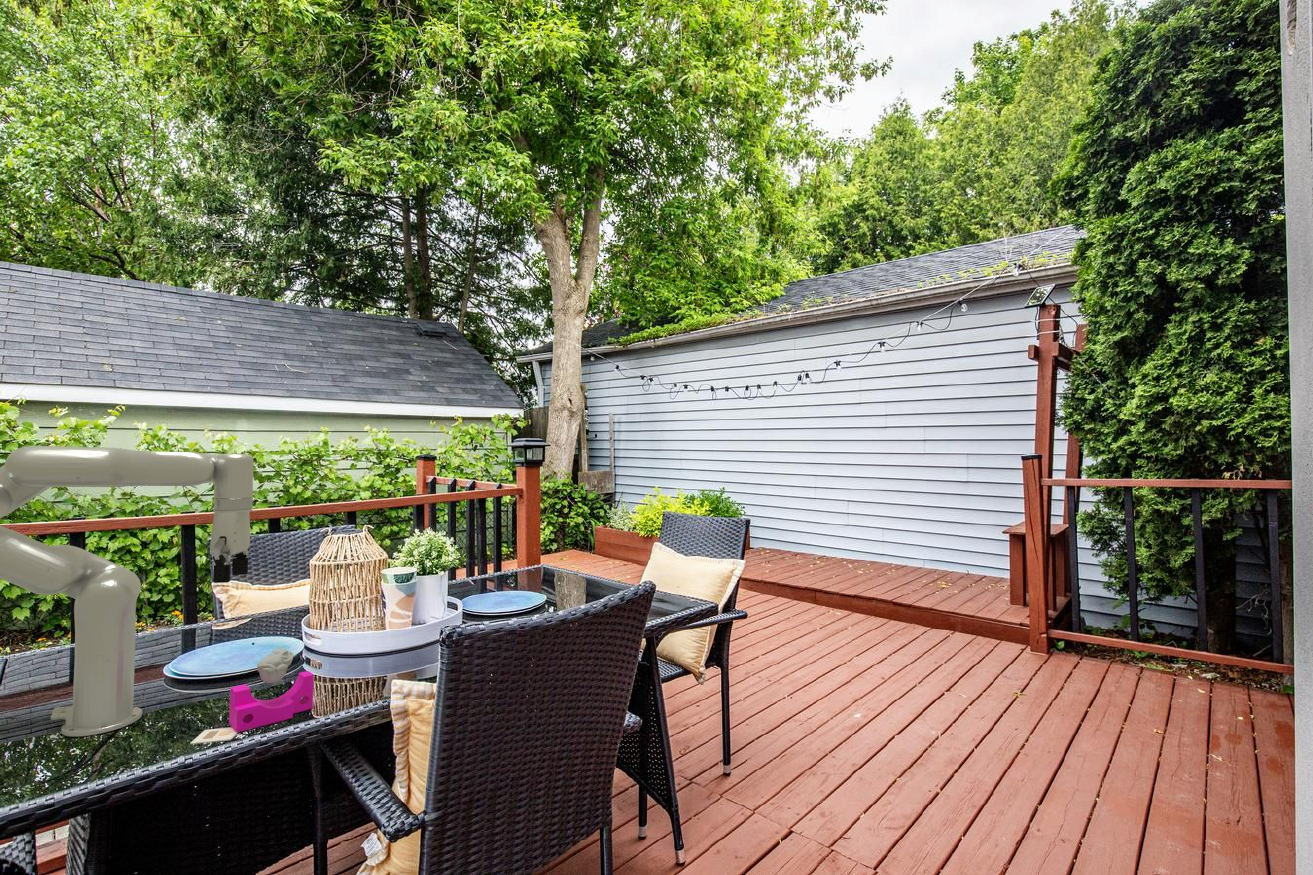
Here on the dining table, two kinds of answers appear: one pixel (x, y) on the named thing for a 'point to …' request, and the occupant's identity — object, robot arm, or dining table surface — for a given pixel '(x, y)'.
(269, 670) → the frog figurine
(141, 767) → the dining table surface
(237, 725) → the toy block
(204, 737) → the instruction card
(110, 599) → the robot arm
